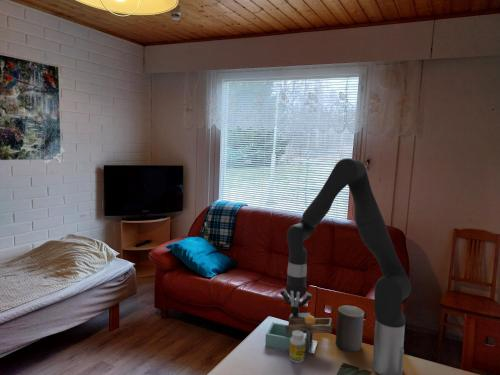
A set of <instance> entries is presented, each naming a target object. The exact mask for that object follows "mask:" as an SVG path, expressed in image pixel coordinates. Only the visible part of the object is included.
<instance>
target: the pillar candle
mask: <svg viewBox="0 0 500 375" xmlns="http://www.w3.org/2000/svg"><path fill="white" fill-rule="evenodd" d="M364 320H365V312H364V310H362V309H361V308H359V307H357V306H353V305H345V304H344V305H341V306H339V307H338V308H337V319H336V334H335V342H334V343H335V346H337V348H339V349H340V350H343V351H345V352H351V351H353V352H358V351H360V350H361V349H362V344H363V335H364V334H363V333H364V332H363V330H364Z"/></svg>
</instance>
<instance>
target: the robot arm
mask: <svg viewBox="0 0 500 375" xmlns="http://www.w3.org/2000/svg"><path fill="white" fill-rule="evenodd" d="M369 180H370V179H369V176H368V172H367V169H366V166H365V165H364V163H363V162H362V161H361V160H359V159H356V158H351V157H345V158H341V159H340V160H338V161H337V162H336V163H335V165H334V167H333V169H332V170H331V172H330V174H329V176H328V177H327V179H326V181H325V183H324V184H323V186H322V188H321V189H320V191H319V192H318V193H317V195H316V196H315V198H313V201H312V202H311V203H310V204H309V205H308V206H307V208H306V209H305V210H304V212H303V213H302V218H301V219H300V221H298V222H297V223H295V224H293V225H291V226H290V227H289V228H288V229H287V232H286V241H287V242H286V243H287V248H288V251H289V253H288V265H287V270H286V272H287V276H286V277H287V279H286V280H287V281H286V286H285V288H283V289H281V290H280V292H279V293H280V295H281V297H282V298H283V300H284V301H285V303H286V304H287V305H289V306H291V309H290V314H291V313H292V314H293V315H294V316H297V315H298V313H300V308H301V307H303V306H305V304H306V303H308V301H310V300H311V298H312V296H313V295H312V293H309V292H308V288H307V276H308V274H307V272H308V270H307V269H308V267H307V260H308V252H307V251H308V250H307V249H306V248H305V247H304V241H306V240H308V239H309V238H310V237H311V236H312V234H313V233H314V232H315V230H316V228H317V226H318V225H319V224H320V223H321V222H322V220H324V218H325V217H326V215H327V214H328V213H329V212H330V209H331V207H332V205H333V204H334V201H335V199H336V197H337V196H338V195H339V193H340V192H341V191H343V189H344V188H346V187H347V186H348V188H349V191H350V193H351V196H352V199H353V204H354V207H353V208H354V209H353V210H354V220H355V221H354V222H355V225H356V228H357V230H358V233H359V236H360V238H361V241H362V243H363V244H364V245H365V246H366V248H367V249H368V250H369V251H370V253H371V254H372V255H373V256H374V257H375V259H376V261H377V263H378V265H379V267H380V270H381V273H382V276H381V277H380V278H378V279H377V281H376V283H375V286H374V298H373V309H374V313H375V324H374V336H373V337H374V338H373V353H372V361H371V362H372V363H371V365H372V367H371V368H372V369H373V370H374V372H375V373H377V374H379V375H403V365H404V357H405V356H404V354H405V349H404V342H405V327H406V314H404V313H403V311H402V309H403V300H405V299H407V298H408V297H409V296H410V295H411V291H412V284H411V282H410V279H409V277H408V274H407V273H406V271H405V269H404V267H403V265H402V263H401V261H400V259H399V256H398V255H397V252H396V249H395V246H394V243H393V242H392V239H391V237H390V233H389V230H388V228H387V224H386V222H385V219H384V217H383V215H382V213H381V210H380V207H379V204H378V203H377V201H376V198H375V196H374V192H373V190H372V186H371V183H370V181H369ZM303 297H304V298H303ZM302 298H303V300H302V301H301V299H302Z"/></svg>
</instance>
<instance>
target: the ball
mask: <svg viewBox="0 0 500 375" xmlns="http://www.w3.org/2000/svg"><path fill="white" fill-rule="evenodd" d="M315 318H316V317H315V316H313V315H312V314H311V315H308V316H307V317H306V318H305V323H306V325H315V323H316V319H315Z"/></svg>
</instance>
